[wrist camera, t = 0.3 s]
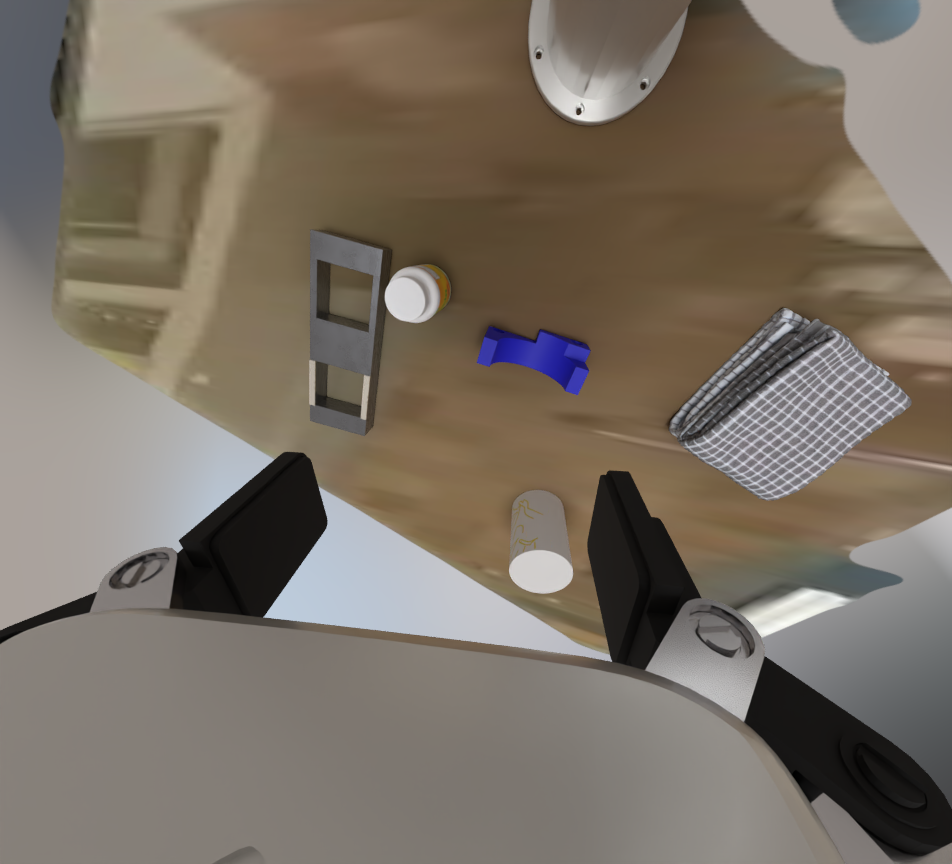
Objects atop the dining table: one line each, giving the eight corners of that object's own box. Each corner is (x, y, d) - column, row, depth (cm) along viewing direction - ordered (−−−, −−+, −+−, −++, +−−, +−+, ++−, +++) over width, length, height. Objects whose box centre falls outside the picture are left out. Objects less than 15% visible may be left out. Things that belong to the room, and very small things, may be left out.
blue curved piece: (586, 343, 42) (595, 358, 37) (571, 377, 44) (577, 395, 39) (493, 313, 41) (488, 323, 36) (482, 348, 44) (476, 362, 38)
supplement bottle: (439, 320, 42) (418, 339, 34) (400, 297, 42) (369, 310, 33) (459, 279, 40) (442, 289, 31) (419, 254, 39) (389, 256, 31)
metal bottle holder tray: (324, 230, 39) (309, 229, 36) (392, 249, 39) (382, 249, 36) (321, 411, 51) (309, 421, 48) (372, 426, 51) (364, 436, 48)
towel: (658, 423, 46) (681, 455, 39) (786, 299, 37) (845, 311, 30) (741, 478, 48) (777, 517, 41) (880, 373, 39) (955, 400, 33)
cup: (529, 481, 52) (530, 540, 42) (574, 504, 53) (586, 567, 43) (503, 515, 56) (498, 577, 46) (545, 536, 57) (550, 601, 47)
